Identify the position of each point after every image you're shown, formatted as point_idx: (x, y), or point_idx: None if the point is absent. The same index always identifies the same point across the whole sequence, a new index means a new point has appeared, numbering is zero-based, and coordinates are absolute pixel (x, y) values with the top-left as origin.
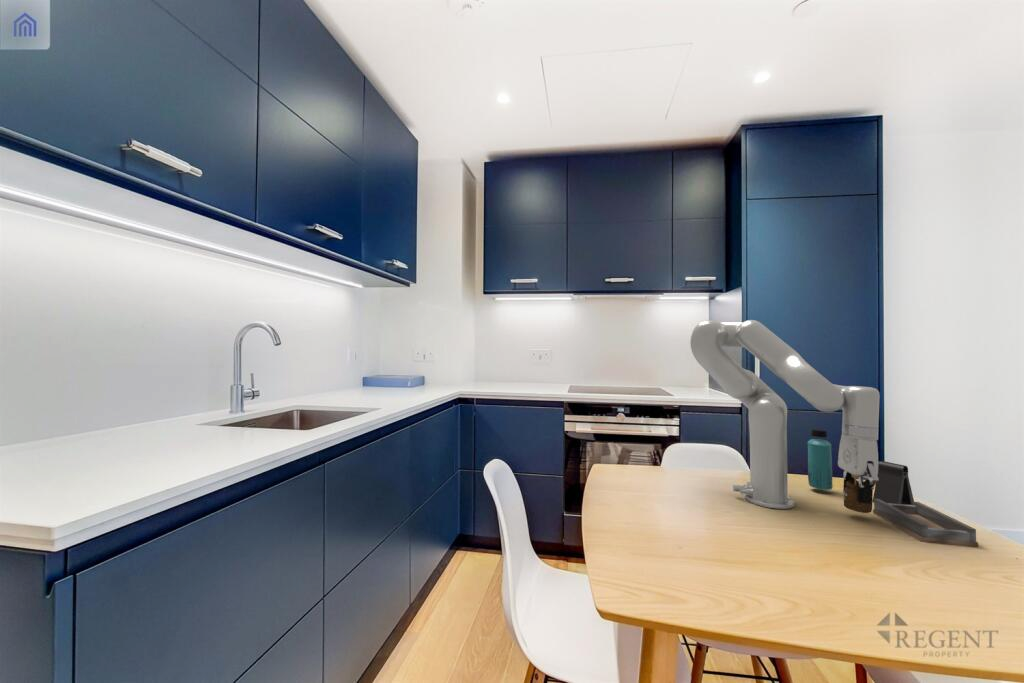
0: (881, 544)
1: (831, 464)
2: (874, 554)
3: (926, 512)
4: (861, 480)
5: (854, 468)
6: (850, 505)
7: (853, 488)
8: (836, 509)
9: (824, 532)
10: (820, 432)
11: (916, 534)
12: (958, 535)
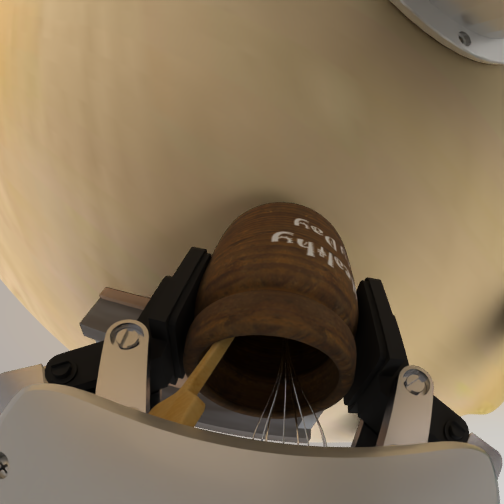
0: (47, 153)
1: None
2: (5, 102)
3: (256, 421)
4: (98, 375)
5: (28, 461)
6: (249, 212)
7: (218, 300)
8: (394, 218)
9: (100, 7)
10: None
11: (114, 299)
12: None
